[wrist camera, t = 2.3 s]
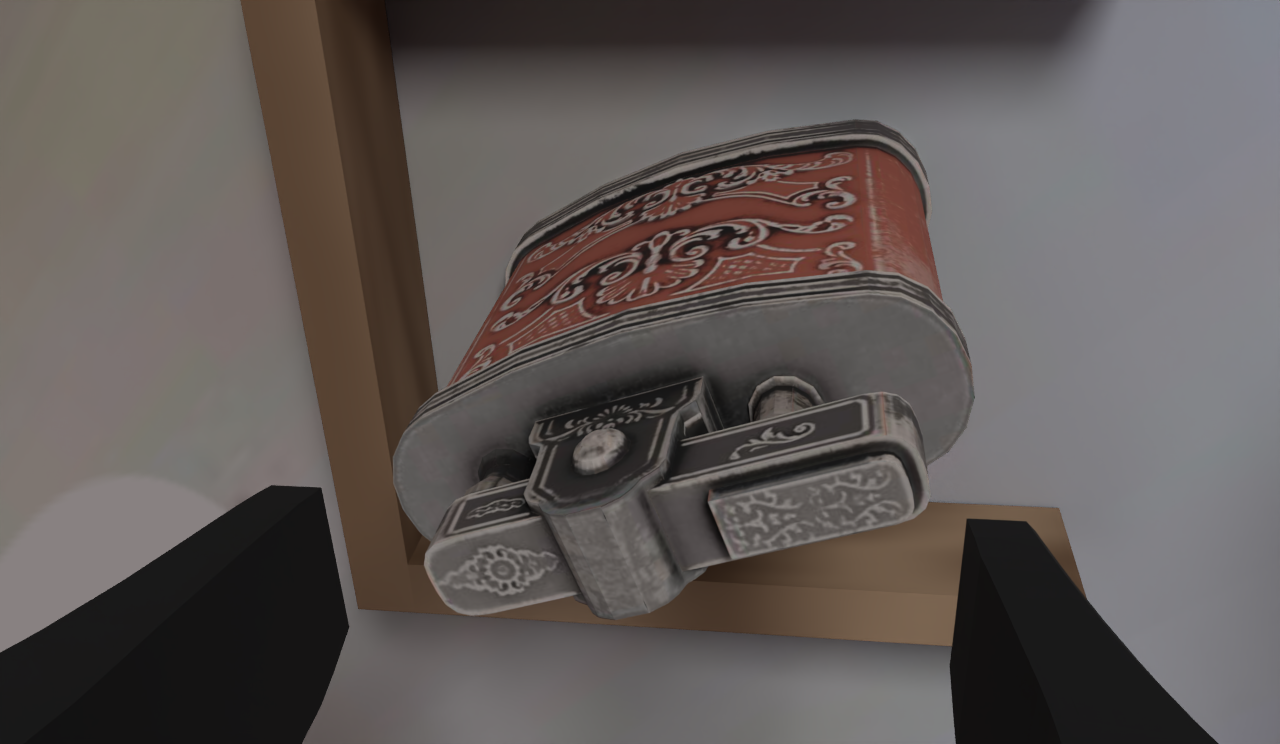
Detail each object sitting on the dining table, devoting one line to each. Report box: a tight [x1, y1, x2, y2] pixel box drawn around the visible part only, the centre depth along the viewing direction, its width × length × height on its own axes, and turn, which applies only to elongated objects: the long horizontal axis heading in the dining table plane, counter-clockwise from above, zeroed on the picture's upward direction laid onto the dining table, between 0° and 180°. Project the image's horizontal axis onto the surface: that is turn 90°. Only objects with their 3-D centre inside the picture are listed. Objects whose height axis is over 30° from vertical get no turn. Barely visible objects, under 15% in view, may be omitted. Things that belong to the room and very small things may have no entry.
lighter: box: [393, 120, 975, 620], centre depth 18 cm, size 8×3×10 cm, turn 111°
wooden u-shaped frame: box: [241, 0, 1087, 646], centre depth 21 cm, size 14×14×3 cm
